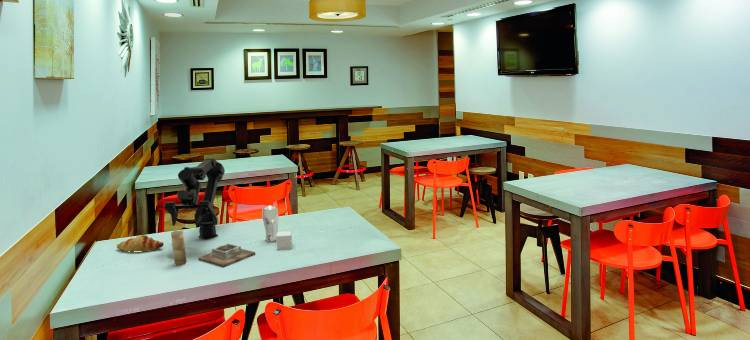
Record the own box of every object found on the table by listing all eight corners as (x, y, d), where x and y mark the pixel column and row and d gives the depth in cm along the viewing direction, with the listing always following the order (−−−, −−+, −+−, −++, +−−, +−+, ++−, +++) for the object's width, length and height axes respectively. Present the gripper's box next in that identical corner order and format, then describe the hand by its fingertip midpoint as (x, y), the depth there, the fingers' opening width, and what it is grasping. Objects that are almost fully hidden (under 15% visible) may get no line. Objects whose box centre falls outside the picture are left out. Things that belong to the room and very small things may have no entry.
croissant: (114, 259, 204) (107, 247, 199) (124, 242, 212) (117, 230, 207) (162, 258, 203) (155, 245, 198) (170, 240, 211) (164, 228, 206)
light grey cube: (292, 244, 206) (291, 231, 205) (291, 248, 200) (290, 235, 199) (278, 245, 205) (277, 232, 204) (277, 249, 200) (276, 236, 198)
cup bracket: (230, 247, 204) (229, 239, 203) (255, 254, 195) (254, 245, 194) (198, 259, 191) (197, 250, 190) (223, 267, 182) (222, 257, 181)
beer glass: (281, 237, 216) (279, 205, 213) (277, 242, 209) (274, 209, 206) (267, 237, 217) (264, 205, 214) (262, 242, 210) (259, 209, 207)
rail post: (182, 260, 190) (178, 229, 188) (188, 262, 188) (185, 231, 186) (172, 264, 187) (168, 232, 185) (178, 266, 184) (175, 234, 182)
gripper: (162, 183, 195) (153, 216, 186) (207, 182, 195) (200, 215, 186) (172, 197, 204) (164, 229, 195) (215, 195, 204) (209, 227, 195)
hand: (184, 225), depth 193 cm, fingers open, 9 cm apart
